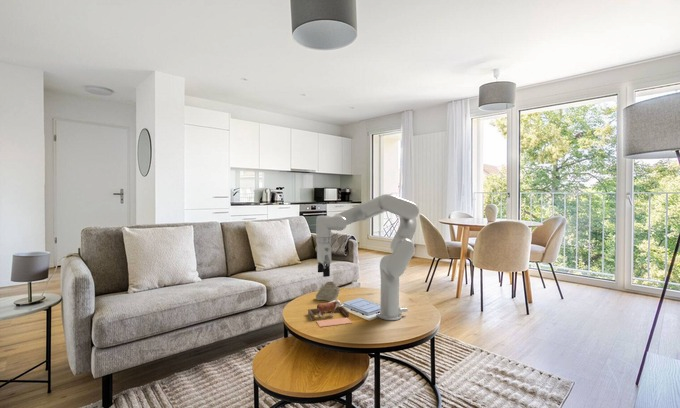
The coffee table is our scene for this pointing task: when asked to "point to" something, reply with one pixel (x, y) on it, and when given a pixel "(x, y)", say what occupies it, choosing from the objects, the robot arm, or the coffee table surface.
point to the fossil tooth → (328, 292)
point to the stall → (338, 309)
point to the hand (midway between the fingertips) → (323, 274)
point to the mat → (333, 322)
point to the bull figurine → (328, 307)
